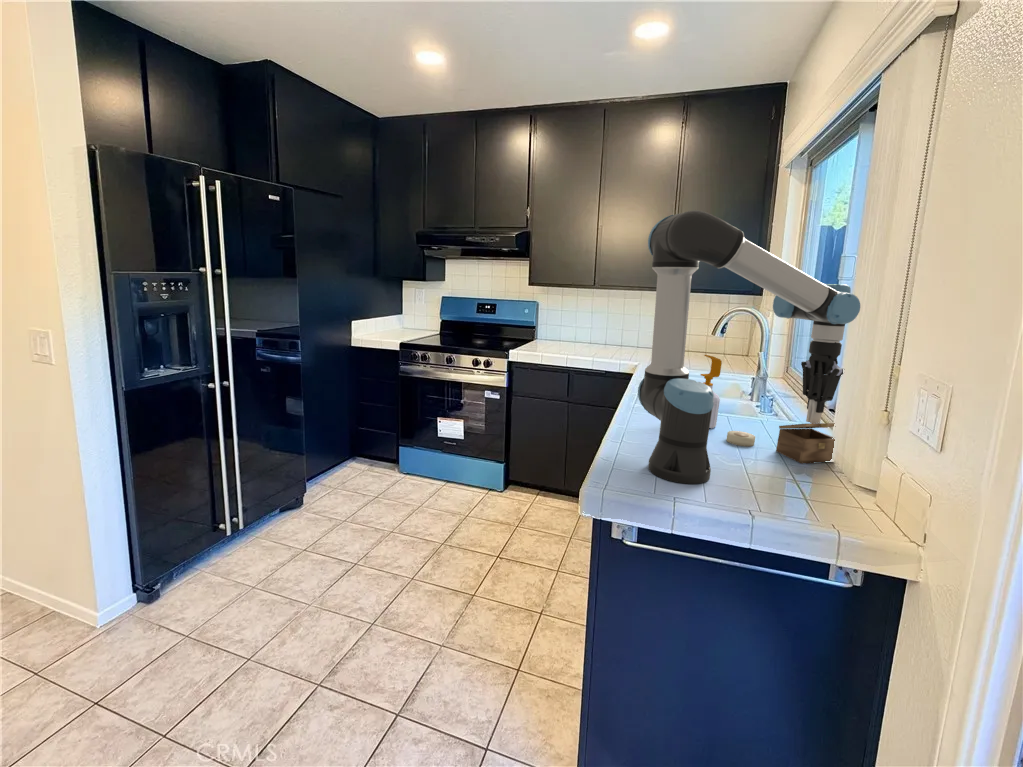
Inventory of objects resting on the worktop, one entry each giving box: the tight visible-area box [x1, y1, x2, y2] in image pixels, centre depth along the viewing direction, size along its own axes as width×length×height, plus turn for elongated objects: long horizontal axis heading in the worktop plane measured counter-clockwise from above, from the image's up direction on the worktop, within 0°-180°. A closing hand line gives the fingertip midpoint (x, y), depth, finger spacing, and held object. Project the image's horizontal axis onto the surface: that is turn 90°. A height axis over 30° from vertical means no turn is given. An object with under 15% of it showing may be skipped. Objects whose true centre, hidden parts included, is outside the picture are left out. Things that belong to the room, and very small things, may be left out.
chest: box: [775, 428, 835, 464], centre depth 145 cm, size 11×10×7 cm
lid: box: [778, 422, 836, 430], centre depth 144 cm, size 11×10×1 cm
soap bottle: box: [700, 354, 723, 429], centre depth 170 cm, size 9×9×25 cm
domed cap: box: [726, 430, 756, 448], centre depth 156 cm, size 8×8×3 cm
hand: (812, 422), depth 143 cm, fingers closed
